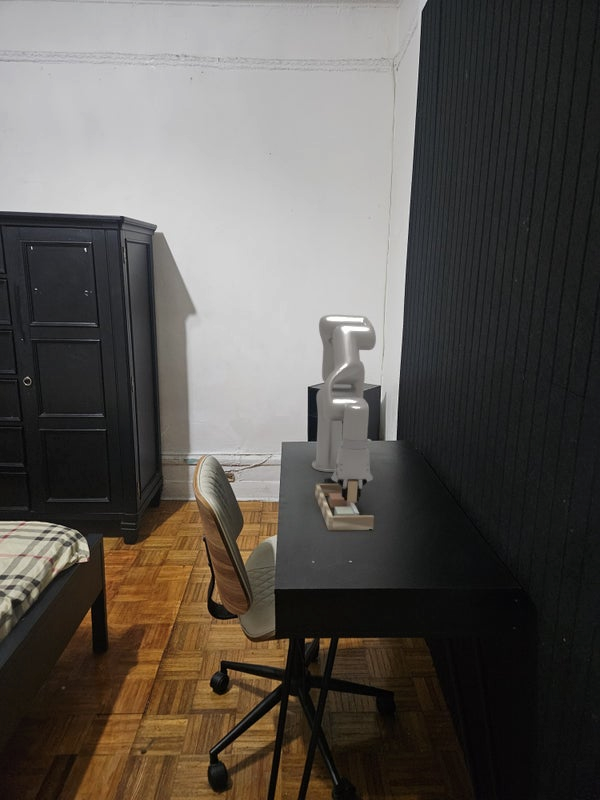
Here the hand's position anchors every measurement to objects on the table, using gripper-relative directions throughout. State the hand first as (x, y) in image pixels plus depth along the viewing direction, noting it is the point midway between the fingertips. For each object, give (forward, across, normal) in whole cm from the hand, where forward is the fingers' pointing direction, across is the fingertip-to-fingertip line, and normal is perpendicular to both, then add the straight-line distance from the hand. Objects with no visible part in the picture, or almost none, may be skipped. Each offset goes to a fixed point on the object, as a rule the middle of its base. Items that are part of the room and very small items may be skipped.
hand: (350, 498), depth 168 cm
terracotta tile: (+4, +3, -5) cm, 8 cm away
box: (+4, +2, 0) cm, 5 cm away
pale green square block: (+4, +3, +5) cm, 8 cm away
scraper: (+4, 0, 0) cm, 4 cm away
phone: (+5, +1, -19) cm, 20 cm away
